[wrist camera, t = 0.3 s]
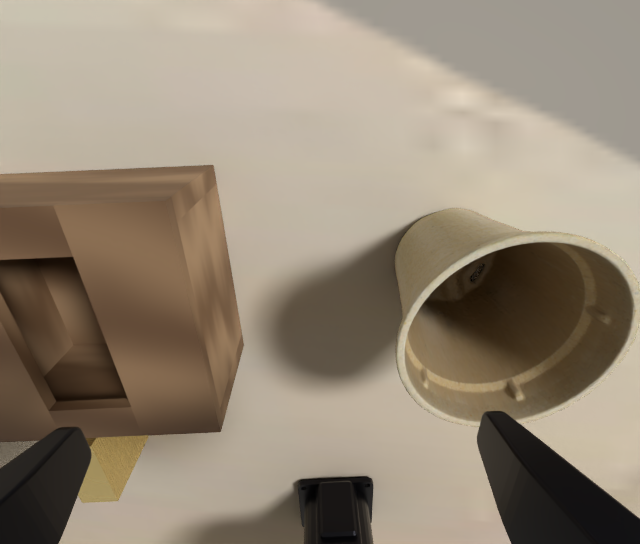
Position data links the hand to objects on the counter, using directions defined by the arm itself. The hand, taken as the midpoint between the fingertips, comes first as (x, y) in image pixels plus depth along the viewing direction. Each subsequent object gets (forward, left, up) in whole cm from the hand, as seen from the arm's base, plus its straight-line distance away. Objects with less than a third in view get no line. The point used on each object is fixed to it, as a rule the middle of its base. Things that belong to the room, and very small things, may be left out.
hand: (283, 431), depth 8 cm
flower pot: (-2, -9, -14) cm, 17 cm away
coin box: (-2, +10, -14) cm, 18 cm away
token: (-14, +14, -14) cm, 25 cm away
